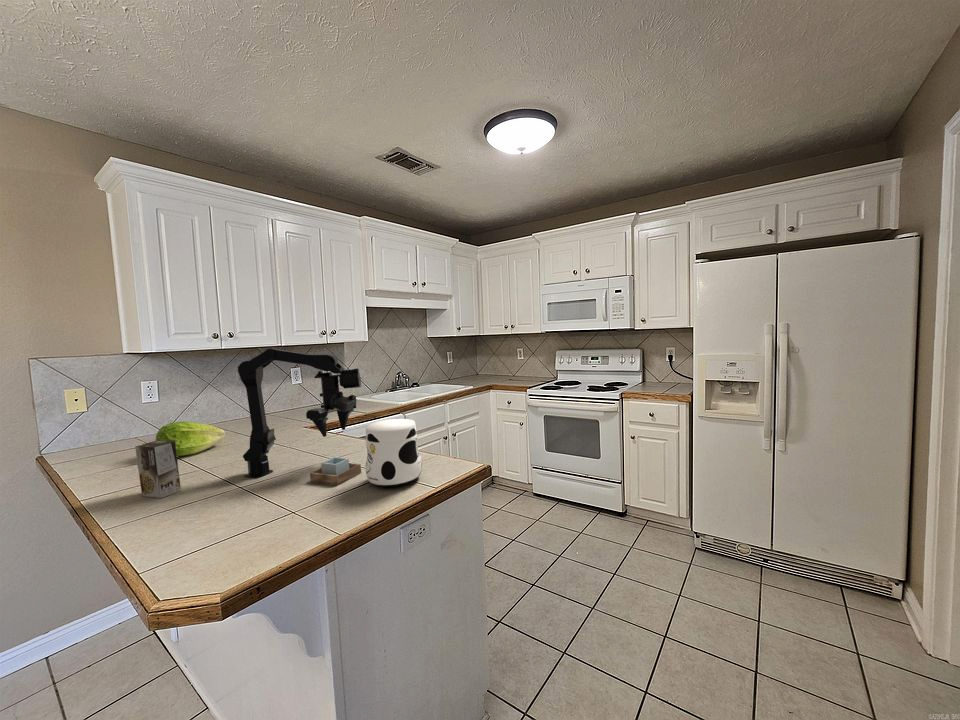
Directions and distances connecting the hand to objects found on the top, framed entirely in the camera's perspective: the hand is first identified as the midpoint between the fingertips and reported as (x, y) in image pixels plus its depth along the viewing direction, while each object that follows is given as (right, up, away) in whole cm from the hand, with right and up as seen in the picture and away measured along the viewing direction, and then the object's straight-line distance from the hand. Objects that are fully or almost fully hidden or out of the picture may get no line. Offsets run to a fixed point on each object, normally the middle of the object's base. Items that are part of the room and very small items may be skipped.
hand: (334, 433), depth 142 cm
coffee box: (-49, -16, -16) cm, 54 cm away
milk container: (+25, -12, -16) cm, 32 cm away
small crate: (+4, -12, -10) cm, 17 cm away
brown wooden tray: (+4, -13, -10) cm, 17 cm away
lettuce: (-71, -14, +29) cm, 78 cm away
